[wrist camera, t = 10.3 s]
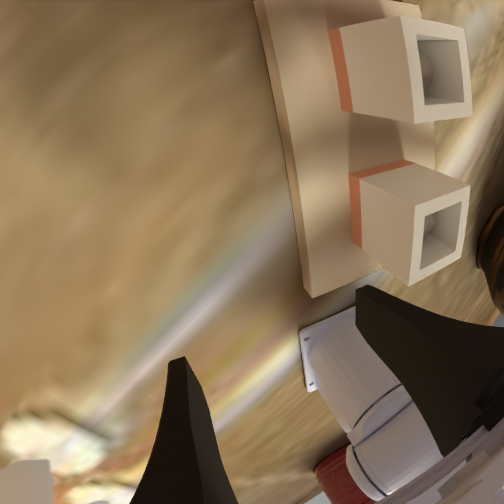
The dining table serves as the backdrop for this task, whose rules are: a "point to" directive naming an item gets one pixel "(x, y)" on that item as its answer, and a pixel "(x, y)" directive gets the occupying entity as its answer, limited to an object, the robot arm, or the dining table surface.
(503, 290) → the ceramic jug
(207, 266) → the dining table surface
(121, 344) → the dining table surface
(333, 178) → the pin board
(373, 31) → the sleeve
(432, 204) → the seated sleeve
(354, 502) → the canister
